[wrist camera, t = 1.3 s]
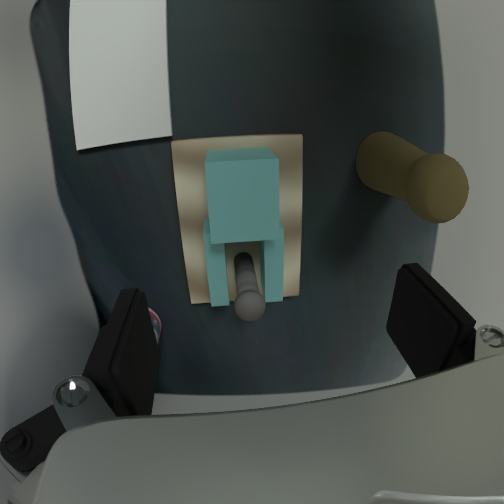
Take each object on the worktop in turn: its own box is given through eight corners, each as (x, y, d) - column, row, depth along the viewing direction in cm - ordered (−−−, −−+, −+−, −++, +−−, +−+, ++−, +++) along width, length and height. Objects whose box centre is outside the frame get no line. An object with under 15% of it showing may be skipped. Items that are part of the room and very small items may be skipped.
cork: (392, 200, 31) (455, 246, 21) (345, 175, 29) (402, 217, 19) (417, 148, 28) (490, 177, 19) (371, 120, 27) (441, 136, 17)
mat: (72, 1, 19) (70, -1, 18) (166, -21, 19) (165, -23, 19) (79, 149, 26) (76, 150, 25) (172, 135, 26) (171, 135, 26)
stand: (173, 140, 26) (150, 160, 18) (299, 133, 27) (335, 150, 19) (192, 297, 34) (185, 362, 25) (296, 289, 34) (319, 351, 26)
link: (199, 151, 26) (194, 163, 21) (276, 147, 26) (289, 158, 21) (211, 285, 32) (211, 320, 27) (276, 280, 32) (286, 314, 27)
